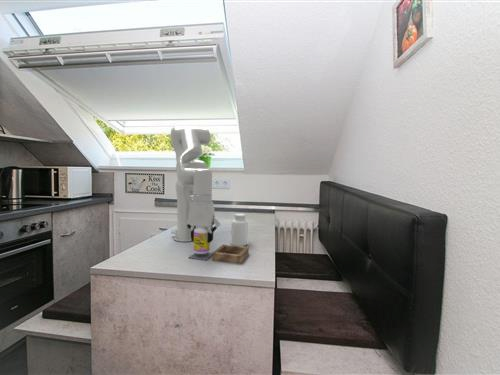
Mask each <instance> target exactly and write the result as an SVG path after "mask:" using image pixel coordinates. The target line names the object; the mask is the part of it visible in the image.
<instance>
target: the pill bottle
mask: <svg viewBox="0 0 500 375" xmlns="http://www.w3.org/2000/svg"><path fill="white" fill-rule="evenodd" d="M248 223H249V222H248V220H247V219H246V214H244V213H235V214H234V219H233V220H232V221H231V233H230V234H231V236H230V243H231V244H230V245H233V246H243V247H246V245H247V244H248V230H249V229H248V227H249V225H248Z"/></svg>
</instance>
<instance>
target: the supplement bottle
mask: <svg viewBox="0 0 500 375" xmlns="http://www.w3.org/2000/svg"><path fill="white" fill-rule="evenodd" d="M208 233H209V231H208V228H207V227H198V226H197V227H196V228H195V229H194V241H193V253H197V254H205V253H208V252H209V253H210V251H211V250H210V247H211V246H210V244H211V242H210V243H208Z"/></svg>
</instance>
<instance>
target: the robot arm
mask: <svg viewBox="0 0 500 375" xmlns="http://www.w3.org/2000/svg"><path fill="white" fill-rule="evenodd" d="M170 141H171V144H172V148H173V150H174V152H175V158H176V161H175V166H176V167H175V169H176V177H177V181H176V183H175V193H176V203H177V204H176V206H177V209H176V212H177V215H176V216H177V218H176V219H177V220H176V225H177V226H176V229H171V232H170V234H171V235H174V236H173V240H174V241H176V242H180V243H182V242H183V243H185V242H194V229H195V228H196V227H197V226H198V227H207V228H208V231H209V233H208V243H210V244H211V242H213V240H214V233H215V231H216V230H217V229H218V228H219V227H220V226H221V223H220V221H218V219H217V218H216V213H215V204H214V201H213V200H212V198H213V197H212V196H213V195H212V194H213V192H212V191H213V171H212V169H210V168H208V165H207V163H206V161H204V160H197V159H198V158H200V157H201V155H202V154H203V148H202V145H203V146H208V145H209V144H210V142H211V132H210V130H209V129H208V128H205V127H201V126H199V127H198V126H191V125H190V126H181V125H179V126H174V127H172V129H171V130H170ZM213 225H214V226H213Z"/></svg>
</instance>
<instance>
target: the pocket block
mask: <svg viewBox="0 0 500 375" xmlns="http://www.w3.org/2000/svg"><path fill="white" fill-rule="evenodd" d="M249 250H250V247H249V246H234V245H232V244H222V245H221V246H219V247H218V248H216V249H215V250H214V251H213V252H211V253H212V256H211V261H214V262H223V263H230V264H239V265H240V264H242V263H243V261H245V260H246V258H247V257H248V256H249V254H250V253H249Z"/></svg>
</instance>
